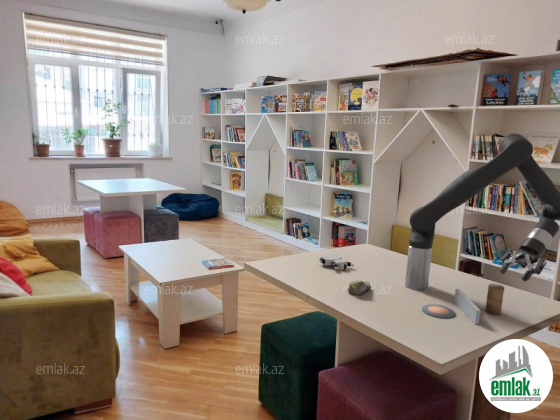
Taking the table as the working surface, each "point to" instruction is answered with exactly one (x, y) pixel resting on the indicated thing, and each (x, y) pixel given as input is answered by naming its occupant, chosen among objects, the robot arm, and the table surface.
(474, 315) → the acrylic wall
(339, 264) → the robot toy
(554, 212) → the robot arm
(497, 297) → the walnut pin
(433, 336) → the table surface
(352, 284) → the rock
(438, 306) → the mat
